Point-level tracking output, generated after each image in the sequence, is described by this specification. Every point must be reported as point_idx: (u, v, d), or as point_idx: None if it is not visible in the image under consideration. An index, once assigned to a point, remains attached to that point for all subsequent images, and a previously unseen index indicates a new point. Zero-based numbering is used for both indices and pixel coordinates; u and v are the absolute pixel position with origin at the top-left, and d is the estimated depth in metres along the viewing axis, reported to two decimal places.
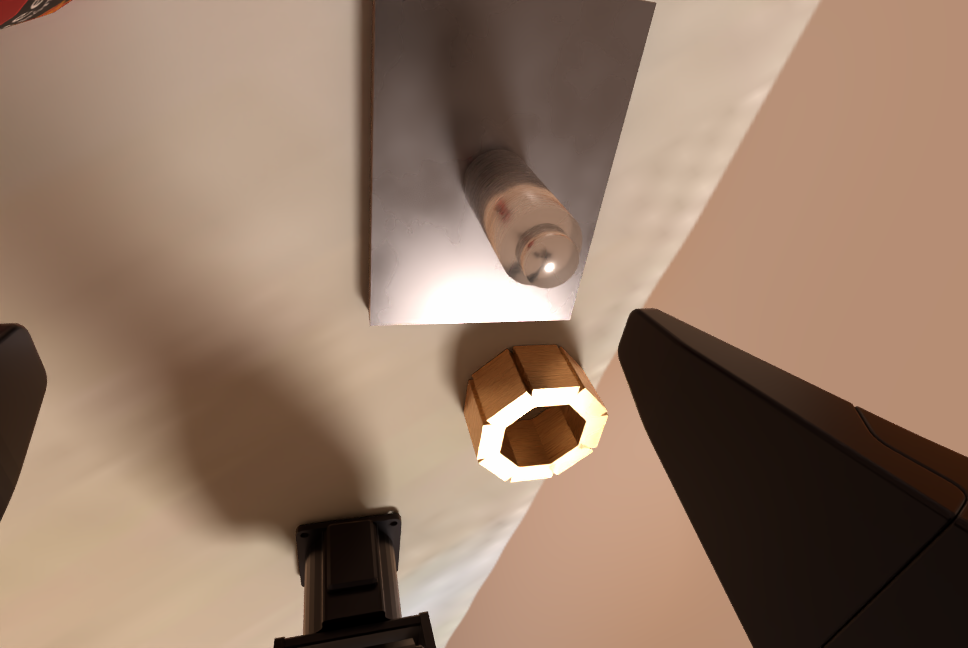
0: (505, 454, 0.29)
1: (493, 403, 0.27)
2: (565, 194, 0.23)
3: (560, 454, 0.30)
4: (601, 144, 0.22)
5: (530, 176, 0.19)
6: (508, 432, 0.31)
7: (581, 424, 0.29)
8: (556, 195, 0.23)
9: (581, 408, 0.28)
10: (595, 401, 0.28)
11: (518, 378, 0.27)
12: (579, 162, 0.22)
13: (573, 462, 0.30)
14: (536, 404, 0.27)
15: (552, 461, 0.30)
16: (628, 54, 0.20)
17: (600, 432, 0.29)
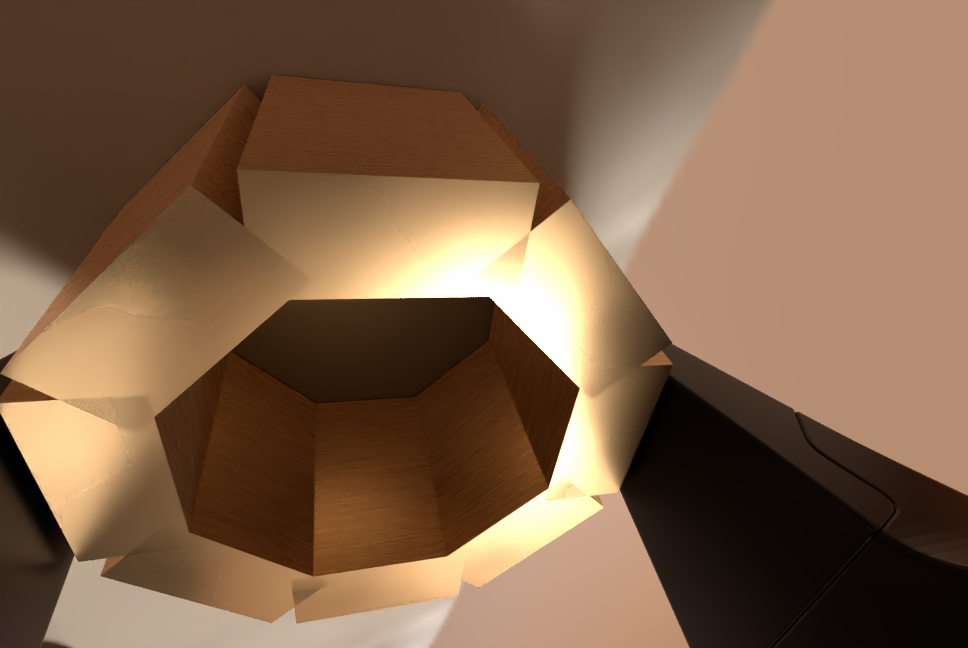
0: (247, 526, 0.07)
1: (76, 285, 0.05)
2: None
3: (482, 520, 0.08)
4: None
5: None
6: (322, 436, 0.09)
7: (559, 405, 0.07)
8: None
9: (554, 324, 0.06)
10: (622, 289, 0.06)
11: (206, 147, 0.05)
12: None
13: (533, 546, 0.08)
14: (296, 284, 0.05)
15: (452, 546, 0.08)
16: None
17: (636, 439, 0.07)
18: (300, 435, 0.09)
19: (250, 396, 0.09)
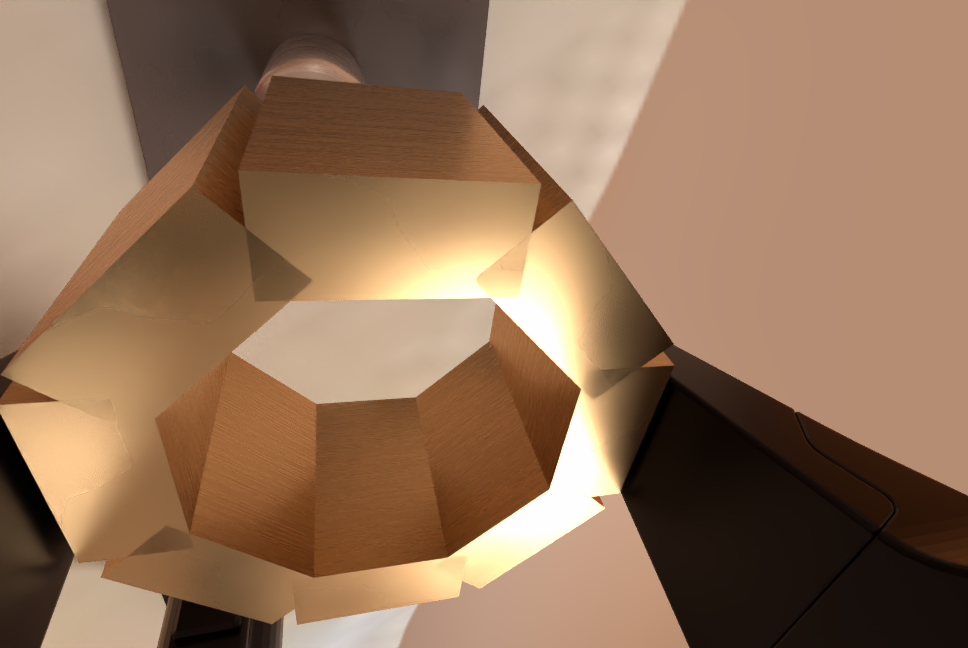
0: (248, 529, 0.07)
1: (76, 286, 0.05)
2: None
3: (483, 521, 0.08)
4: (462, 32, 0.16)
5: (324, 52, 0.13)
6: (323, 437, 0.09)
7: (561, 407, 0.07)
8: None
9: (555, 325, 0.06)
10: (623, 290, 0.06)
11: (207, 148, 0.05)
12: (434, 58, 0.16)
13: (534, 547, 0.08)
14: (297, 285, 0.05)
15: (453, 547, 0.08)
16: None
17: (637, 440, 0.07)
18: (300, 436, 0.09)
19: (250, 397, 0.09)
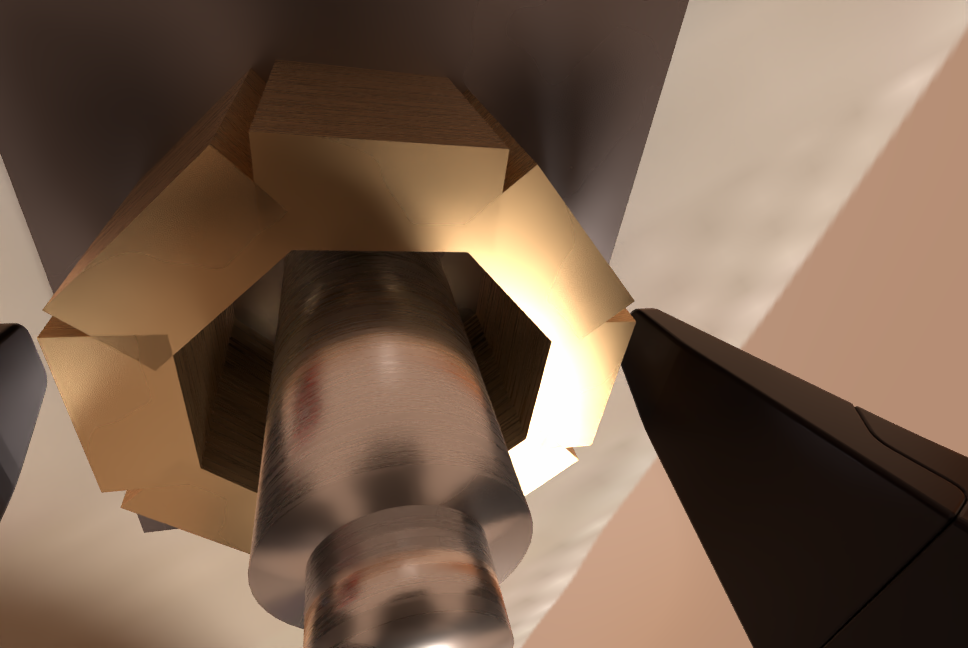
0: (253, 469, 0.08)
1: (105, 237, 0.06)
2: None
3: None
4: (597, 187, 0.10)
5: (401, 292, 0.07)
6: None
7: (536, 360, 0.08)
8: None
9: (526, 280, 0.07)
10: (586, 249, 0.06)
11: (220, 117, 0.06)
12: None
13: None
14: (298, 236, 0.06)
15: None
16: None
17: (606, 393, 0.08)
18: None
19: (254, 359, 0.09)
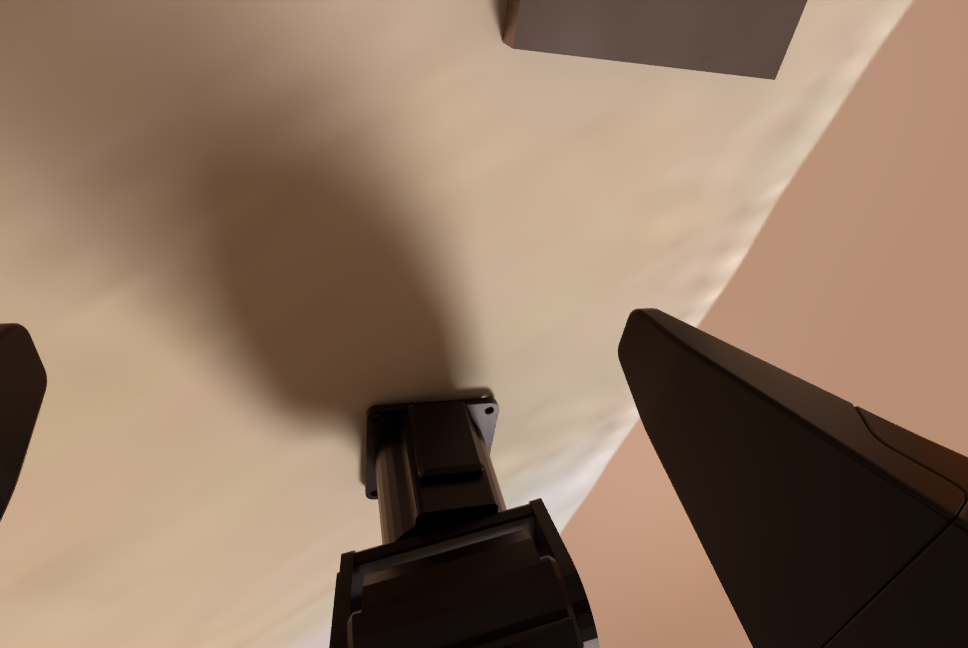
0: None
1: None
2: None
3: None
4: None
5: None
6: None
7: None
8: None
9: None
10: None
11: None
12: None
13: None
14: None
15: None
16: None
17: None
18: None
19: None
